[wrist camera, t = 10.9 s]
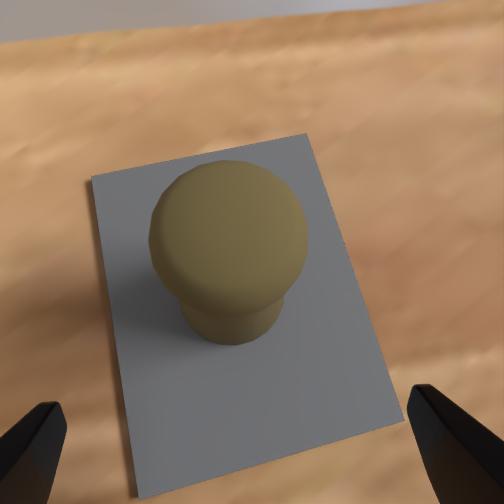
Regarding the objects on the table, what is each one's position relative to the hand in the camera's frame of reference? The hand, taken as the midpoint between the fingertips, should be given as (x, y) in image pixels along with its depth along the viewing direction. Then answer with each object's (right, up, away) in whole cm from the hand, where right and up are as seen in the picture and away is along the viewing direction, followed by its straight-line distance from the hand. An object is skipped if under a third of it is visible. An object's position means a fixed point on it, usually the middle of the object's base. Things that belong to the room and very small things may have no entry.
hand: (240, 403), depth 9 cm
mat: (-1, +2, +12) cm, 12 cm away
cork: (-1, +2, +12) cm, 12 cm away
